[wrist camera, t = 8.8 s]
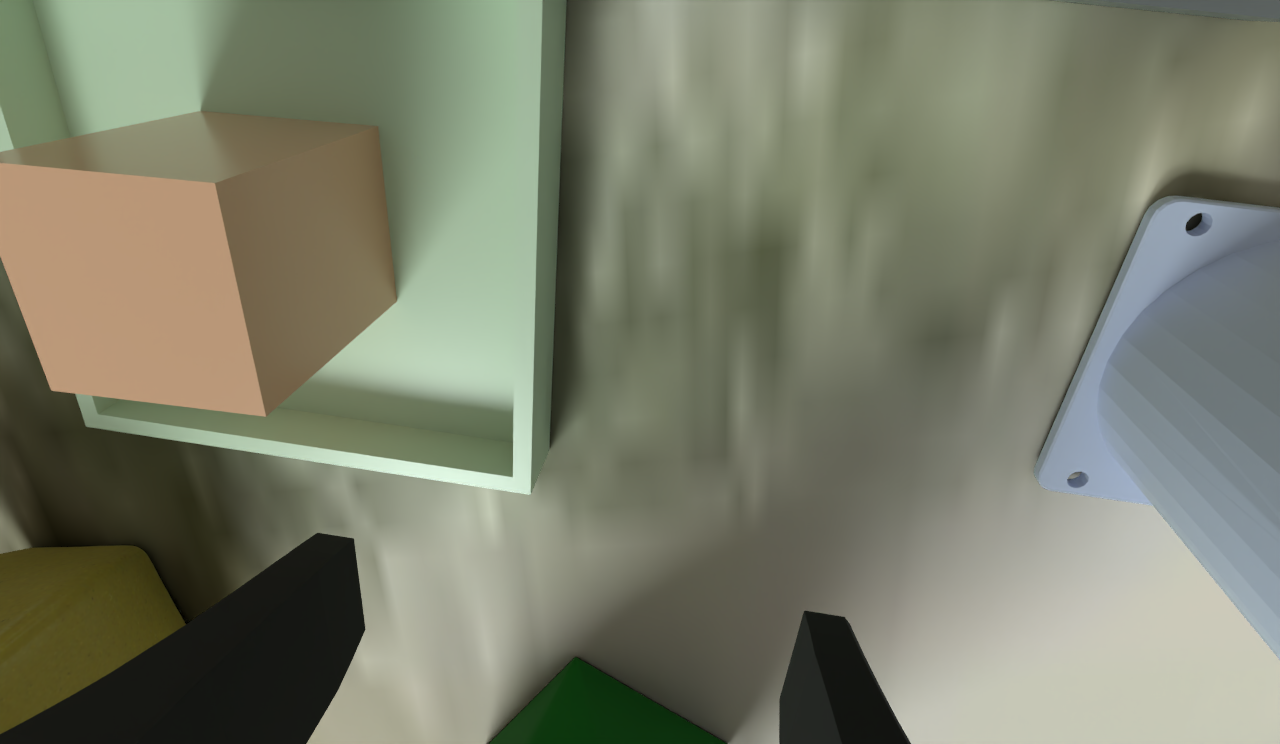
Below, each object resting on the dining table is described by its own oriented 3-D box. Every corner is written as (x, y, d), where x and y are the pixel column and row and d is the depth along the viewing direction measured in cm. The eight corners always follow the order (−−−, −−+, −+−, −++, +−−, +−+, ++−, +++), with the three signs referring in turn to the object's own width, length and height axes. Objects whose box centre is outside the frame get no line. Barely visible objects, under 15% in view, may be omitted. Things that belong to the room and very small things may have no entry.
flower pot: (-44, 503, 26) (-389, 725, 18) (165, 494, 24) (-111, 733, 16) (75, 672, 30) (-166, 916, 22) (262, 673, 28) (75, 936, 20)
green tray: (568, -49, 15) (544, -56, 13) (549, 449, 21) (530, 494, 19) (6, -106, 16) (-94, -121, 14) (142, 389, 22) (85, 426, 20)
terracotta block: (378, 126, 17) (214, 182, 12) (397, 301, 19) (265, 416, 14) (200, 110, 17) (-37, 159, 12) (238, 284, 19) (51, 390, 14)
